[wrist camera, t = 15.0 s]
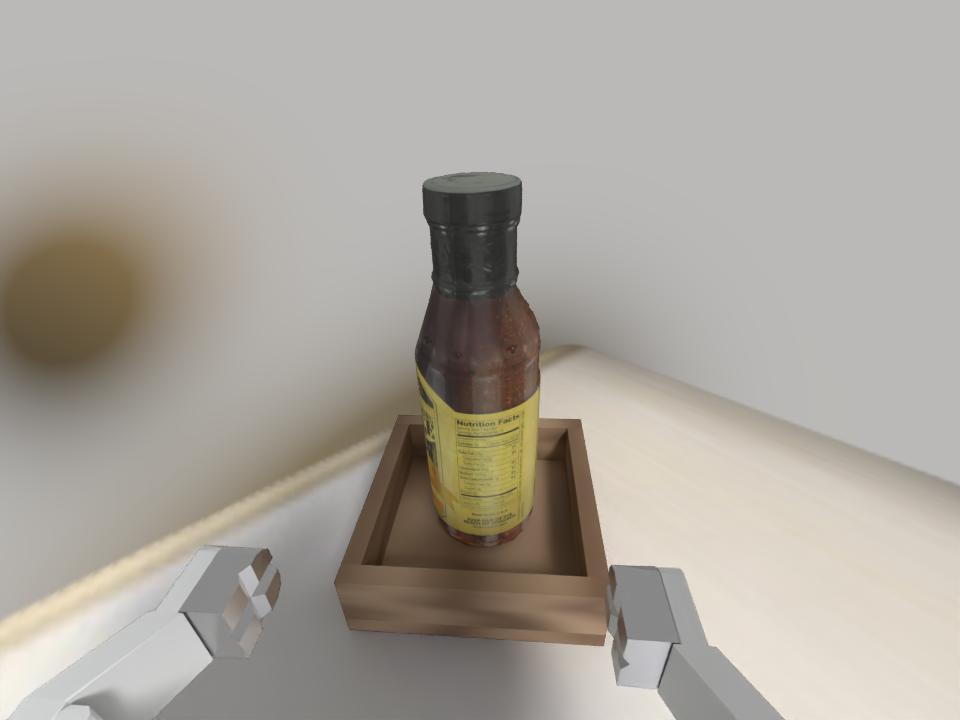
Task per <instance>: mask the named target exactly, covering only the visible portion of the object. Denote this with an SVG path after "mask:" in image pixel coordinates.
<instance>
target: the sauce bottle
mask: <svg viewBox="0 0 960 720" xmlns="http://www.w3.org/2000/svg"><path fill="white" fill-rule="evenodd" d="M422 192H423V214H424V216H425V218H426V220H427V223H428V225H429V227H430V236H431V249H432V261H433V272H432V276H431V278H432V280H433V286H432V291H431V295H430V299H429V303H428V307H427V310H426V314H425V317H424V321H423V324H422V328H421V331H420V335H419V338H418V342H417V345H416V349H415V361H416V370H417V378H418V385H419V391H420V400H421V408H422V417H423V425H424V431H425V441H426V448H427V456H428V464H429V472H430V480H431V487H432V495H433V502H434V506H435V508H436V510H437V512H438V515H439V520H440V523H441V525H442V527H444V528H445V530H446V531H447V532H448V533H449V534H450V535H451V536H453V537H455V538H457V539H458V540H459V541H461V542H463V543H465V544H467V545H472V546H477V547H491V546H495V545H501V544H503V543H506V542H509V541H512V540H514V539H515V538H516V537H517V536H518V534H519V533H521V532H522V531H523V529H524V527H525V525H526V524H527V522H528V520H529V517H530V516H531V513H532V510H533V502H534V494H535V480H536V463H537V441H538V418H539V399H540V370H539V365H538V363H539V350H540V343H541V341H540V335H539V326H538V323H537V321H536V318H535V316H534V313H533V311H531V309H530V308H529V304H528V303H527V301H526V300H525V299H524V298H523V296H522V295H521V293H520V291H519V289H518V288H517V286H516V282H517V278H518V274H519V270H518V267H517V226H518V224H519V222H520V216H521V209H522V182H521V180H520V179H519V178H518V177H516V176H513V175H507V174H503V173H495V172H489V173H488V172H471V173H457V174H450V175H444V176H440V177H434V178H431V179H427V180H426V181H425V182H424V183H423V190H422Z"/></svg>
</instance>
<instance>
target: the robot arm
mask: <svg viewBox="0 0 960 720" xmlns="http://www.w3.org/2000/svg"><path fill="white" fill-rule="evenodd" d="M271 559H272V556H271V554H270V552H269V550H268V549H260V548H244V547H228V546H212V545H205V546H204V547H203V548H201V549H200V550H199V551H198V552H197V553H196V554H195V556H194V557H193V559H192V560H191V561H190V563H189V564H188V566H187V567H186V568H185V570H184V571H183V573H182V574H181V575H180V577H179V578H178V580H177V581H176V582H175V584H174V585H173V587H172V588H171V589H170V591H169V592H168V594H167V595H166V596H165V598H164V599H163V600H162V602H161V603H160V605H159V606H158V607H157V609H156V610H155V611H148V612H147V613H145V614H144V615H142V616H141V617H139V618H138V619H137V620H135V621H134V622H132V623H131V624H129V625H128V626H127V627H125V628H124V629H122V630H121V631H119V632H118V633H117V634H115V635H114V636H112V637H111V638H110V639H108V640H107V641H105V642H104V643H102V644H101V645H100V646H98V647H97V648H95V649H94V650H92V651H91V652H90V653H88V654H87V655H85V656H84V657H82V658H81V659H80V660H78V661H77V662H75V663H74V664H72V665H71V666H70V667H68V668H67V669H65V670H64V671H62V672H61V673H60V674H58V675H57V676H55V677H54V678H52V679H51V680H50V681H48V682H47V683H45V684H44V685H42V686H41V687H40V688H38V689H37V690H35V691H34V692H32V693H31V694H30V695H28V696H27V697H25V698H24V699H23V701H22V702H21V703H20V704H19V705H18V707H17V708H16V709H15V710H14V711H13V713H12V714H11V715H10V716H9V718H8V719H7V720H152V719H153V718H154V717H155V716H156V715H157V714H158V713H159V712H160V711H161V710H162V709H163V708H164V707H165V706H167V705H168V704H169V703H170V702H171V701H172V700H173V699H174V698H175V697H176V696H177V695H178V694H179V693H180V692H181V691H182V690H183V689H184V688H185V687H186V686H187V685H188V684H189V683H190V682H191V681H192V680H193V679H194V678H195V677H196V676H197V675H198V674H199V673H200V672H201V671H202V670H203V669H204V668H205V667H206V666H207V665H208V664H209V663H210V662H212V661H213V658H212V657H214V658H239V659H248V658H249V656H250V654H251V652H252V650H253V648H254V646H255V644H256V642H257V640H258V638H259V636H260V634H261V632H262V630H263V627H262V620H261V619H262V618H263V617H264V616H266V615H267V614H268V613H269V612H270V611H272V609H273V607H274V605H275V603H276V601H277V598H278V595H279V590H280V586H281V581H280V574H279V572H278V569H277V568H275V567H274V566H273V565H271V564H270V561H271ZM608 575H609V581H610V584H609V585H608V586H606V592H605V613H606V622H607V628H608V631H609V633H610V634H611V635H612V636H613V638H614V640H613V645H612V651H611V654H612V660H613V666H614V672H615V678H616V684H617V686H626V687H636V688H646V689H656V690H658V694H659V695H660V697H661V698H662V699H663V701H664V702H665V704H666V705H667V707H668V708H669V710H670V711H671V713H672V714H673V716H674V717H675V719H676V720H785V719H784V718H783V717H782V716H781V715H780V714H779V713H778V712H777V711H776V710H775V709H774V708H773V707H772V706H771V705H770V703H769V702H768V701H767V700H766V699H765V698H764V697H763V696H762V695H761V694H760V693H759V692H758V691H757V690H756V689H755V688H754V686H753V685H752V684H751V683H750V682H749V681H748V680H747V679H746V678H745V677H744V676H743V675H742V674H741V673H740V672H739V671H738V669H737V668H736V667H735V666H734V665H733V664H732V663H731V662H730V661H729V660H728V659H727V658H726V657H725V656H724V655H723V654H722V653H721V651H720V650H719V649H718V648H717V647H713V646H709V645H708V642H707V640H706V637H705V634H704V631H703V628H702V625H701V622H700V619H699V616H698V613H697V610H696V607H695V604H694V601H693V599H692V596H691V593H690V590H689V587H688V584H687V581H686V578H685V575H684V573H683V572H682V570H681V569H679V568H664V567H655V566H624V565H611V566H610V568H609V574H608Z"/></svg>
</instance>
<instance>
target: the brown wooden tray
mask: <svg viewBox="0 0 960 720" xmlns="http://www.w3.org/2000/svg"><path fill="white" fill-rule="evenodd" d="M608 574H609V573H608V568H607V562H606V556H605V551H604V545H603V540H602V534H601V529H600V523H599V518H598V512H597V507H596V501H595V496H594V490H593V485H592V479H591V474H590V468H589V462H588V457H587V451H586V446H585V440H584V435H583V429H582V424H581V419H544V418H538V441H537V463H536V480H535V494H534V502H533V510H532V513H531V516H530V517H529V520H528V522H527V524H526V525H525V527H524V529H523V531H522V532H521V533H519V534H518V536H517V537H516V538H515V539H514V540H512V541H509V542H506V543H503V544H501V545H495V546H491V547H477V546H472V545H467V544H465V543H463V542H461V541H459V540H458V539H457V538H455V537H453V536H451V535H450V534H449V533H448V532H447V531H446V530H445V528H444V527H442V525H441V523H440V520H439V515H438V512H437V510H436V508H435V506H434V502H433V495H432V487H431V480H430V472H429V464H428V456H427V448H426V441H425V431H424V425H423V417H422V416H415V415H399V416H398V418H397V421H396V423H395V426H394V428H393V431H392V434H391V436H390V439H389V441H388V444H387V446H386V449H385V452H384V454H383V457H382V459H381V462H380V465H379V467H378V470H377V472H376V475H375V478H374V480H373V483H372V485H371V488H370V491H369V493H368V496H367V498H366V501H365V504H364V506H363V509H362V511H361V514H360V517H359V519H358V522H357V524H356V527H355V530H354V532H353V535H352V537H351V540H350V542H349V545H348V548H347V550H346V553H345V555H344V558H343V561H342V563H341V566H340V568H339V571H338V574H337V576H336V579H335V581H334V584H335V587H336V590H337V593H338V596H339V599H340V602H341V606H342V609H343V612H344V615H345V618H346V621H347V624H348V627H349V629H351V630H366V631H381V632H396V633H412V634H427V635H442V636H457V637H472V638H487V639H503V640H518V641H533V642H548V643H563V644H578V645H593V646H604V642H605V637H606V632H607V622H606V613H605V592H606V586H608V585H609V584H610V581H609V575H608Z"/></svg>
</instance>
